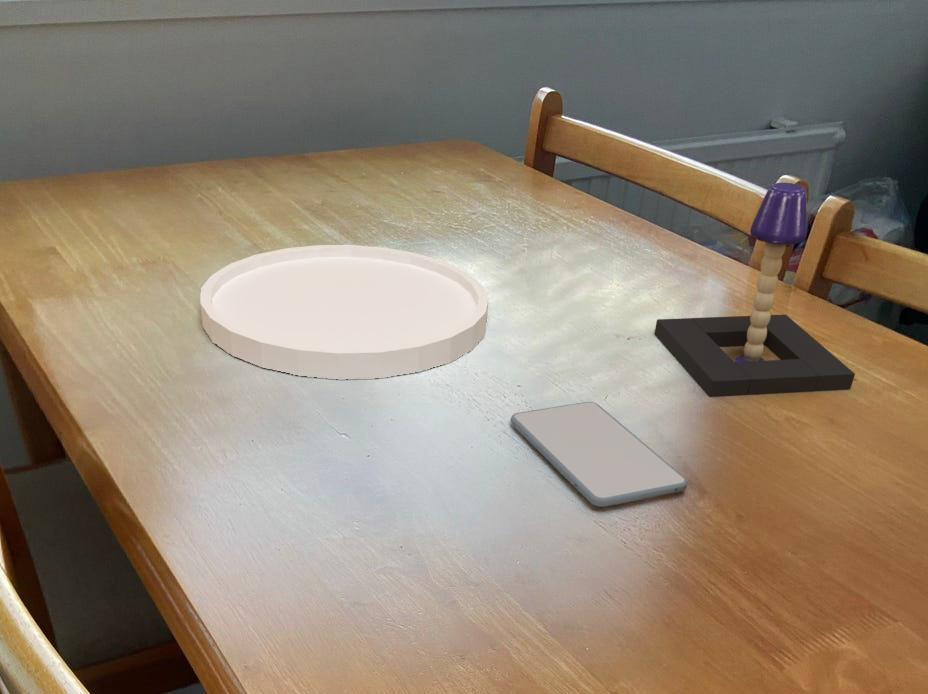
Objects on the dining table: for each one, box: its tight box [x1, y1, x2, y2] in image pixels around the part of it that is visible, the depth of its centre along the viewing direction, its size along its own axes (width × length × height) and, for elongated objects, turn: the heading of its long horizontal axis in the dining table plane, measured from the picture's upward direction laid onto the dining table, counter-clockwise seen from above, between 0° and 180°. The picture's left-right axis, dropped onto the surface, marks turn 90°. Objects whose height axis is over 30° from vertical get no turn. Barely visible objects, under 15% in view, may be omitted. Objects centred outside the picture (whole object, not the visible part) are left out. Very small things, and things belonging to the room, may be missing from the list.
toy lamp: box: [734, 182, 808, 362], centre depth 88 cm, size 5×5×17 cm
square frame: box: [654, 314, 856, 398], centre depth 93 cm, size 13×13×3 cm
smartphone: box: [510, 401, 688, 508], centre depth 80 cm, size 8×1×15 cm
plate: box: [199, 244, 489, 381], centre depth 99 cm, size 28×28×2 cm
